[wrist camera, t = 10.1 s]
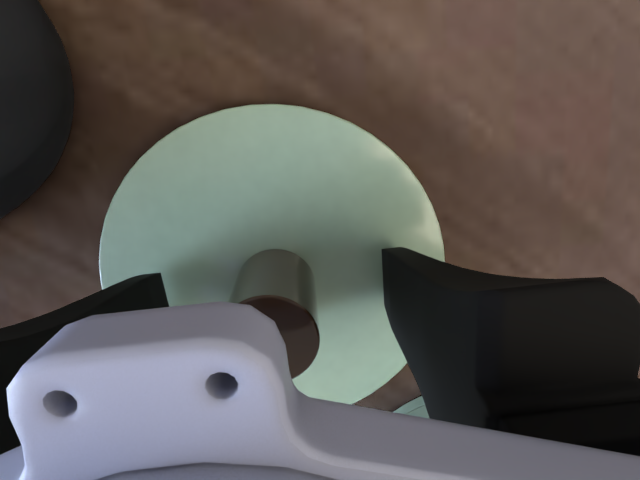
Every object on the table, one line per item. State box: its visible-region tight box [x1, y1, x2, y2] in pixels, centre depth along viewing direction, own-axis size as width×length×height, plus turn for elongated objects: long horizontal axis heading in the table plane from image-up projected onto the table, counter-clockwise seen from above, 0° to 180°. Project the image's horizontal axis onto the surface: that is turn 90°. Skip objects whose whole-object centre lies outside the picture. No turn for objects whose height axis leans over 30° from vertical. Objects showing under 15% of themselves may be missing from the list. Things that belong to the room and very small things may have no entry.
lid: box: [99, 104, 445, 404], centre depth 12 cm, size 11×11×4 cm
